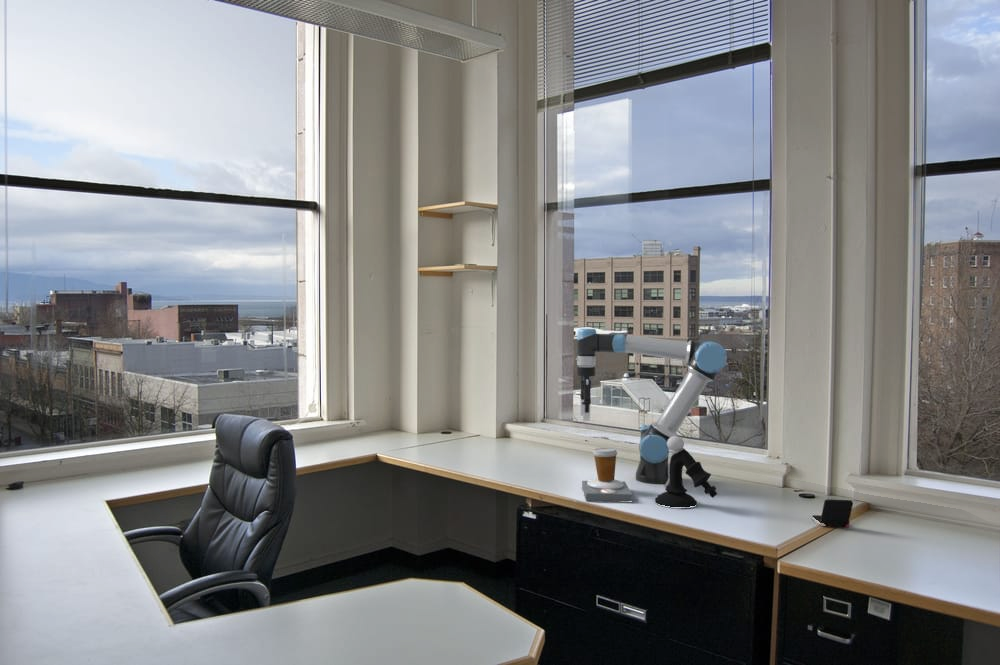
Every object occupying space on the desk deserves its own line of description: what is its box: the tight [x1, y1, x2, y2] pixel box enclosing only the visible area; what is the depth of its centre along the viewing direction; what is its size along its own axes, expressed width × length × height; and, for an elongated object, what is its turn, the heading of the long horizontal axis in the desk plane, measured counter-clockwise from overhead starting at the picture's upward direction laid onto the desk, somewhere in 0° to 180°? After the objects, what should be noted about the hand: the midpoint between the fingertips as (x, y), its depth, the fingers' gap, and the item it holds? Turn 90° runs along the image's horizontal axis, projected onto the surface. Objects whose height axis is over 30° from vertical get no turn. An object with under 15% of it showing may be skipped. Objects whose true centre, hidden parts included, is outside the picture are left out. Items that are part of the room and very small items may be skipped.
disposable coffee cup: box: [592, 447, 618, 482], centre depth 296 cm, size 10×10×12 cm
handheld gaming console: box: [812, 498, 854, 529], centre depth 254 cm, size 9×12×10 cm
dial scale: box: [581, 478, 633, 502], centre depth 289 cm, size 17×20×4 cm
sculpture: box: [654, 435, 719, 507], centre depth 275 cm, size 15×24×25 cm, turn 48°
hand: (585, 418), depth 308 cm, fingers open, 13 cm apart
